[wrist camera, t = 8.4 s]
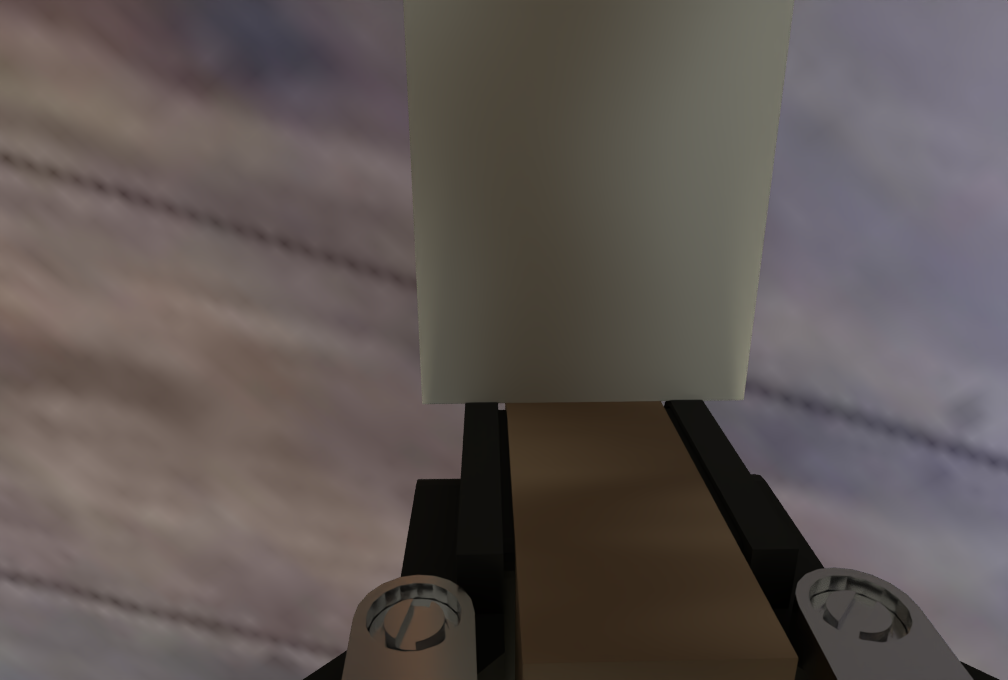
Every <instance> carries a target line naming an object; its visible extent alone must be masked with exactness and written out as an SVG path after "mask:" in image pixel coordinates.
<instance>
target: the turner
mask: <svg viewBox="0 0 1008 680" xmlns="http://www.w3.org/2000/svg"><path fill="white" fill-rule="evenodd" d="M403 3H404V24H405V45H406V66H407V87H408V109H409V130H410V151H411V172H412V193H413V214H414V235H415V256H416V278H417V299H418V320H419V341H420V362H421V383H422V404H465V403H466V402H498V403H505V410H507V424H508V441H509V457H510V474H511V490H512V507H513V523H514V540H515V680H795V674H796V669H797V663H798V656H797V654H796V652H795V650H794V649H793V647H792V645H791V643H790V641H789V639H788V637H787V636H786V634H785V632H784V630H783V628H782V626H781V624H780V623H779V621H778V619H777V617H776V615H775V613H774V611H773V610H772V608H771V606H770V604H769V602H768V600H767V598H766V596H765V595H764V593H763V591H762V589H761V587H760V585H759V583H758V582H757V580H756V578H755V576H754V574H753V572H752V570H751V569H750V567H749V565H748V563H747V561H746V559H745V557H744V556H743V554H742V552H741V550H740V548H739V546H738V544H737V542H736V541H735V539H734V537H733V535H732V533H731V531H730V529H729V528H728V526H727V524H726V522H725V520H724V518H723V516H722V515H721V513H720V511H719V509H718V507H717V505H716V503H715V501H714V500H713V498H712V496H711V494H710V492H709V490H708V488H707V487H706V485H705V483H704V481H703V479H702V477H701V475H700V474H699V472H698V470H697V468H696V466H695V464H694V462H693V461H692V459H691V457H690V455H689V453H688V451H687V449H686V447H685V446H684V444H683V442H682V440H681V438H680V436H679V434H678V433H677V431H676V429H675V427H674V425H673V423H672V421H671V420H670V418H669V416H668V414H667V412H666V410H665V408H664V406H663V405H662V403H661V401H669V400H702V401H703V400H743V399H744V391H745V384H746V376H747V368H748V360H749V352H750V344H751V336H752V328H753V321H754V313H755V305H756V297H757V289H758V281H759V273H760V266H761V258H762V250H763V242H764V234H765V226H766V218H767V210H768V203H769V195H770V187H771V179H772V171H773V163H774V155H775V148H776V140H777V132H778V124H779V116H780V108H781V100H782V92H783V85H784V77H785V69H786V61H787V53H788V45H789V37H790V30H791V22H792V14H793V6H794V0H403Z"/></svg>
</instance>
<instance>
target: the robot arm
mask: <svg viewBox="0 0 1008 680" xmlns="http://www.w3.org/2000/svg"><path fill="white" fill-rule="evenodd" d="M664 408H665V410H666V412H667V414H668V416H669V418H670V420H671V421H672V423H673V425H674V427H675V429H676V431H677V433H678V434H679V436H680V438H681V440H682V442H683V444H684V446H685V447H686V449H687V451H688V453H689V455H690V457H691V459H692V461H693V462H694V464H695V466H696V468H697V470H698V472H699V474H700V475H701V477H702V479H703V481H704V483H705V485H706V487H707V488H708V490H709V492H710V494H711V496H712V498H713V500H714V501H715V503H716V505H717V507H718V509H719V511H720V513H721V515H722V516H723V518H724V520H725V522H726V524H727V526H728V528H729V529H730V531H731V533H732V535H733V537H734V539H735V541H736V542H737V544H738V546H739V548H740V550H741V552H742V554H743V556H744V557H745V559H746V561H747V563H748V565H749V567H750V569H751V570H752V572H753V574H754V576H755V578H756V580H757V582H758V583H759V585H760V587H761V589H762V591H763V593H764V595H765V596H766V598H767V600H768V602H769V604H770V606H771V608H772V610H773V611H774V613H775V615H776V617H777V619H778V621H779V623H780V624H781V626H782V628H783V630H784V632H785V634H786V636H787V637H788V639H789V641H790V643H791V645H792V647H793V649H794V650H795V652H796V654H797V656H798V663H797V669H796V674H795V680H999V679H997V678H995V677H993V676H990V675H988V674H986V673H984V672H982V671H980V670H978V669H976V668H974V667H971V666H969V665H967V664H965V663H963V662H961V661H959V660H958V658H957V657H956V656H955V654H954V653H953V652H952V650H951V649H950V648H949V646H948V645H947V643H946V642H945V641H944V639H943V638H942V637H941V635H940V634H939V633H938V631H937V630H936V629H935V627H934V626H933V625H932V623H931V622H930V621H929V619H928V618H927V617H926V615H925V614H924V613H923V611H922V610H921V609H920V607H919V606H918V605H917V604H916V603H915V602H914V601H913V600H912V599H911V598H910V597H909V596H908V595H907V594H906V593H904V592H903V591H901V590H900V589H898V588H897V587H895V586H894V585H892V584H891V583H889V582H887V581H885V580H882V579H880V578H878V577H876V576H874V575H871V574H868V573H864V572H860V571H857V570H853V569H845V568H835V567H833V568H824V567H823V565H822V564H821V562H820V561H819V559H818V558H817V556H816V555H815V553H814V552H813V550H812V549H811V547H810V546H809V545H808V543H807V542H806V540H805V539H804V537H803V536H802V534H801V533H800V531H799V530H798V528H797V527H796V525H795V524H794V522H793V521H792V519H791V518H790V516H789V515H788V513H787V512H786V511H785V509H784V508H783V506H782V505H781V503H780V502H779V500H778V499H777V497H776V496H775V494H774V493H773V491H772V490H771V488H770V487H769V485H768V484H767V482H766V481H765V480H764V479H763V478H762V477H761V476H760V475H756V474H750V472H749V471H748V469H747V468H746V466H745V465H744V463H743V462H742V460H741V459H740V457H739V456H738V454H737V453H736V451H735V449H734V448H733V446H732V445H731V443H730V442H729V440H728V439H727V437H726V436H725V434H724V433H723V431H722V429H721V428H720V426H719V425H718V423H717V422H716V420H715V419H714V417H713V416H712V414H711V413H710V411H709V409H708V408H707V406H706V405H705V403H704V402H703V401H702V400H669V401H666V402H665V405H664ZM303 680H515V540H514V523H513V507H512V490H511V474H510V457H509V441H508V424H507V410H498V402H466V403H465V418H464V435H463V451H462V467H461V479H418V480H417V484H416V489H415V495H414V501H413V507H412V513H411V519H410V525H409V531H408V537H407V543H406V549H405V555H404V561H403V567H402V573H401V577H399V578H397V579H394V580H391V581H388V582H386V583H383V584H381V585H380V586H378V587H377V588H375V589H374V590H372V591H371V592H369V593H368V594H367V595H366V596H365V598H364V599H363V600H362V601H361V602H360V603H359V604H358V607H357V609H356V612H355V614H354V617H353V620H352V626H351V631H350V637H349V642H348V648H347V651H345V652H344V653H342V654H341V655H339V656H338V657H336V658H335V659H333V660H332V661H330V662H329V663H327V664H326V665H324V666H323V667H321V668H320V669H318V670H317V671H315V672H314V673H312V674H311V675H309V676H308V677H306V678H305V679H303Z"/></svg>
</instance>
